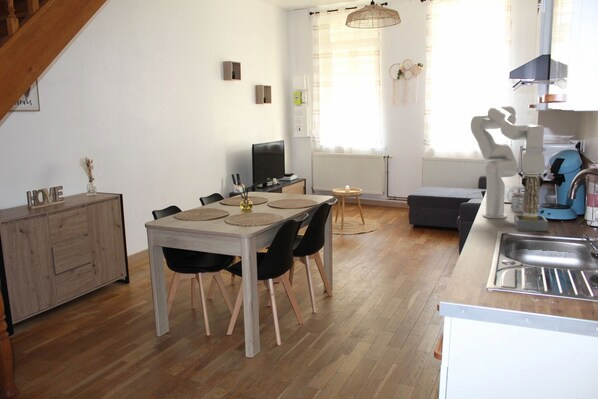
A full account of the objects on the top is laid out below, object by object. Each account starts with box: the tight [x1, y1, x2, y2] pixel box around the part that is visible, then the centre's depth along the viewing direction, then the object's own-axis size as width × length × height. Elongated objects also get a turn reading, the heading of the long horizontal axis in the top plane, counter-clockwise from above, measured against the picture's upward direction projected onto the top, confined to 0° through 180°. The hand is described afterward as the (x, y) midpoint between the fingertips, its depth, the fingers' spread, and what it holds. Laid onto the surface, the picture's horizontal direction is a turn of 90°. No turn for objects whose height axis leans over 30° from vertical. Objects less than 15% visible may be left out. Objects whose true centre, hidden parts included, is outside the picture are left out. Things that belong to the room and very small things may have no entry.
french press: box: [506, 177, 525, 212], centre depth 292 cm, size 10×12×25 cm
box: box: [513, 214, 549, 232], centre depth 248 cm, size 14×14×5 cm
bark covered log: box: [522, 173, 540, 221], centre depth 246 cm, size 7×7×25 cm
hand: (532, 185), depth 245 cm, fingers closed on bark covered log, 6 cm apart
